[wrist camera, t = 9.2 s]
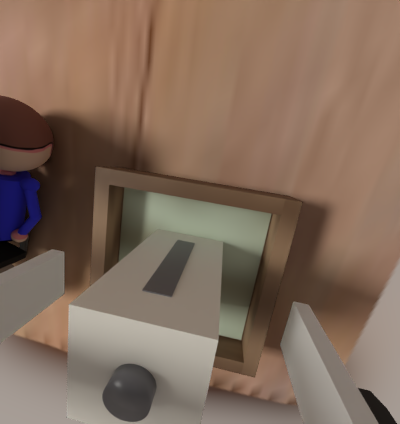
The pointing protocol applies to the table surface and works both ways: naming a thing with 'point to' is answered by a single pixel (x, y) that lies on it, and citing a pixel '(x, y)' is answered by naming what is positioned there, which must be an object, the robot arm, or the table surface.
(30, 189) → the figurine character
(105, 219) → the brown wooden square tray
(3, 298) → the robot arm
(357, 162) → the table surface
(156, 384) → the strip block
